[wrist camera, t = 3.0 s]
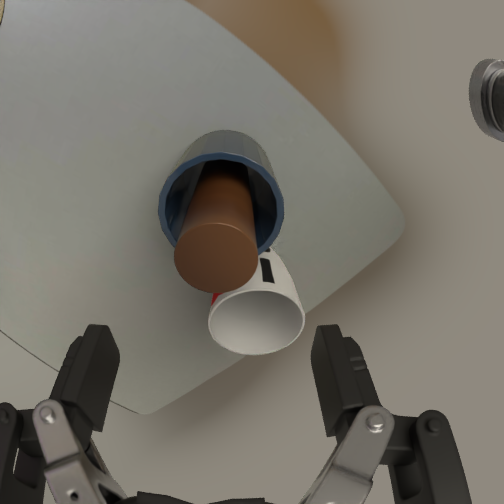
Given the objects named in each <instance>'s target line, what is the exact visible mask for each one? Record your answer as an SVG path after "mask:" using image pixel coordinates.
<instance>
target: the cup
mask: <svg viewBox="0 0 504 504" xmlns="http://www.w3.org/2000/svg"><path fill="white" fill-rule="evenodd" d="M304 324H305V314H304V311H303V308H302V305H301V302H300V299H299V296H298V294H297V291H296V288H295V285H294V282H293V280H292V278H291V276H290V274H289V272H288V271H287V269H286V267H285V265H284V263H283V262H282V260H281V258H280V257H279V255H278V254H277V253H276V252H275V251H274V250H273V249H272V248H271V247H269V248H268V249H267V250H266V251H264V252H263V253H262V254H260V255H259V256H258V266H257V269H256V272H255V273H254V275H253V277H252V278H251V279H250V280H249V281H248V282H247V283H246V284H245V285H243V286H242V287H240V288H238V289H236V290H234V291H230V292H226V293H213V296H212V301H211V307H210V313H209V319H208V328H209V331H210V334H211V336H212V337H213V339H214V340H215V341H216V342H217V343H218V344H219V345H221V346H222V347H224V348H225V349H227V350H230V351H232V352H235V353H239V354H245V355H263V354H268V353H272V352H275V351H278V350H281V349H283V348H285V347H286V346H288V345H290V344H291V343H292V342H294V341H295V340H296V338H298V336H299V335H300V333H301V332H302V330H303V328H304Z"/></svg>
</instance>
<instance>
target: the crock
mask: <svg viewBox="0 0 504 504" xmlns="http://www.w3.org/2000/svg"><path fill="white" fill-rule="evenodd" d="M219 159H224V160H229V161H235V162H240V163H242V164H244V165H246V167H247V169H248V174H249V183H250V191H251V199H252V207H253V216H254V224H255V232H256V241H257V249H258V256H259V255H260V254H262V253H263V252H264V251H266V250H267V249H268V248H269V247H270V246H271V244H272V243H273V241H274V240H275V239H276V237H277V236H278V234H279V232H280V229H281V226H282V222H283V219H284V201H283V196H282V193H281V191H280V188H279V185H278V183H277V180H276V178H275V175H274V172H273V170H272V167H271V165H270V162H269V160H268V157H267V155H266V153H265V151H264V150H263V149H262V147H261V146H260V145H259V144H258V143H257V142H256V141H255V140H254V139H252V138H251V137H249V136H247V135H245V134H243V133H240V132H237V131H231V130H220V131H214V132H210V133H208V134H205V135H203V136H202V137H200V138H198V139H197V140H196V141H194V142H193V143H192V144H191V145H190V147H189V148H188V149H187V150H186V151H185V153H184V154H183V156H182V157H181V159H180V160H179V161H178V163H177V164H176V166H175V167H174V169H173V170H172V172H171V173H170V175H169V177H168V178H167V180H166V182H165V184H164V186H163V188H162V191H161V193H160V196H159V206H158V215H159V219H160V223H161V227H162V230H163V232H164V234H165V235H166V237H167V238H168V240H169V242H170V243H171V245H172V246H173V247H176V244H177V241H178V238H179V234H180V231H181V228H182V225H183V222H184V219H185V216H186V213H187V210H188V207H189V205H190V202H191V199H192V196H193V193H194V190H195V187H196V185H197V182H198V179H199V176H200V174H201V171H202V168H203V166H204V164H205V163H206V162H207V161H211V160H219Z"/></svg>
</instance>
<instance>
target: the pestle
mask: <svg viewBox="0 0 504 504" xmlns="http://www.w3.org/2000/svg"><path fill="white" fill-rule="evenodd" d="M174 261H175V265H176V268H177V270H178V272H179V274H180V275H181V277H182V278H183V279H184V280H185V281H186V282H187V283H188V284H190V285H191V286H193V287H194V288H197V289H199V290H202V291H205V292H209V293H226V292H230V291H234V290H236V289H238V288H240V287H242V286H243V285H245V284H246V283H247V282H248V281H249V280H250V279H251V278H252V277H253V275H254V273H255V272H256V269H257V266H258V249H257V241H256V232H255V224H254V216H253V207H252V199H251V191H250V183H249V174H248V169H247V167H246V165H244V164H242V163H240V162H235V161H229V160H224V159H219V160H211V161H207V162H206V163H205V164H204V166H203V168H202V171H201V174H200V176H199V179H198V182H197V185H196V187H195V190H194V193H193V196H192V199H191V202H190V205H189V207H188V210H187V213H186V216H185V219H184V222H183V225H182V228H181V231H180V234H179V238H178V241H177V244H176V247H175V251H174Z"/></svg>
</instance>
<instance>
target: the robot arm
mask: <svg viewBox="0 0 504 504" xmlns="http://www.w3.org/2000/svg"><path fill="white" fill-rule="evenodd" d="M487 105H488V110H489V114H490V117H491V120H492V122H493V124H494V125H495V127H496V128H497V129H498V130H499V131H501V132H502V133H504V69H500V70H498V71H496V72H495V73H494V74H493V75H492V77H491V79H490V81H489V84H488V89H487ZM119 363H120V354H119V350H118V347H117V345H116V343H115V340H114V338H113V336H112V333H111V331H110V329H109V327H108V326H107V325H95V324H90V325H88V327H87V328H86V331H85V333H84V335H83V337H82V336H78V337H77V339H76V340H75V341H74V342H73V343H72V344H71V345H70V347H69V350H68V352H67V354H66V358H65V359H64V361H63V366H61V369H60V371H59V374H58V376H57V379H56V381H55V384H54V387H53V389H52V392H51V395H50V397H49V399H46V400H43V401H41V402H40V403H38V404H37V405H36V407H35V409H28V410H16V409H15V408H14V407H13V406H12V405H11V404H10V403H6V402H3V403H0V504H43V497H44V490H45V482H46V481H47V483H48V486H49V488H50V490H51V493H52V495H53V497H54V499H55V501H56V504H192V503H189V502H186V501H183V500H180V499H177V498H173V497H171V496H167V495H161V494H152V493H145V492H140V491H138V492H137V496H134V497H129V498H128V497H127V496H126V494H125V493H124V491H123V490H122V488H121V487H120V486H119V485H118V483H117V482H116V481H115V480H114V479H113V478H112V476H111V474H110V473H109V471H108V469H107V467H106V465H105V463H104V461H103V460H102V458H101V456H100V454H99V452H98V450H97V448H96V446H95V444H94V442H93V440H92V438H91V435H92V430H94V431H98V432H102V430H103V425H104V421H105V417H106V413H107V408H108V404H109V400H110V397H111V393H112V389H113V385H114V381H115V378H116V374H117V371H118V367H119ZM311 364H312V370H313V374H314V379H315V383H316V387H317V392H318V397H319V401H320V406H321V411H322V416H323V420H324V425H325V430H326V435H327V437H331V436H336V440H337V445H336V447H335V449H334V450H333V452H332V454H331V456H330V457H329V459H328V460H327V462H326V464H325V465H324V467H323V469H322V470H321V472H320V474H319V475H318V477H317V478H316V480H315V481H314V483H313V484H312V486H311V487H310V488H309V490H308V491H307V492H306V494H305V495H304V496H303V498H302V499H301V501H300V502H299V504H364V502H365V500H366V498H367V496H368V494H369V492H370V490H371V488H372V485H373V481H372V478H373V475H374V473H375V471H376V469H377V467H378V465H379V464H383V465H388V468H389V474H390V479H391V484H392V490H393V495H394V501H395V504H472V502H471V498H470V493H469V489H468V485H467V481H466V477H465V473H464V470H463V466H462V463H461V459H460V456H459V452H458V449H457V446H456V443H455V440H454V437H453V434H452V430H451V428H450V425H449V422H448V420H447V418H446V417H445V415H444V414H442V413H441V412H439V411H436V410H427V411H425V412H423V413H422V414H421V415H420V416H419V417H407V416H406V417H405V416H397V415H393V414H391V413H390V412H389V411H388V410H387V409H385V408H384V407H383V406H382V405H381V403H380V401H379V399H378V396H377V393H376V390H375V387H374V384H373V381H372V379H371V376H370V373H369V370H368V369H367V365H366V362H365V360H364V357H363V354H362V351H361V349H360V346H359V345H358V344H357V343H356V342H355V341H354V340H353V339H352V338H351V337H342V334H341V331H340V328H339V326H338V325H337V324H334V325H321V326H317V329H316V333H315V337H314V341H313V346H312V350H311ZM17 448H19V452H18V456H17V461H16V465H15V470H14V474H13V466H14V462H15V457H16V452H17ZM209 504H273V503H268V502H265V500H264V498H250V499H249V498H248V499H230V500H225V501H220V502H215V503H209Z"/></svg>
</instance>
